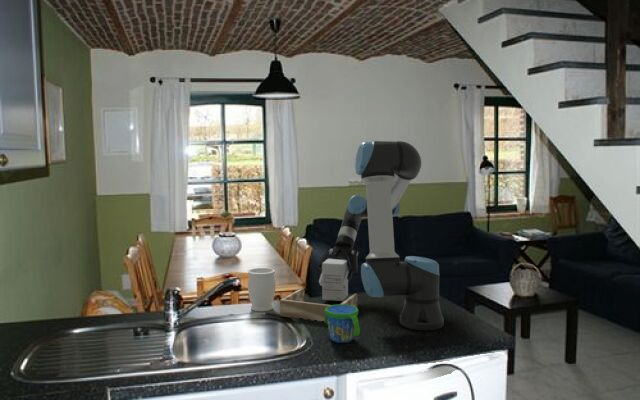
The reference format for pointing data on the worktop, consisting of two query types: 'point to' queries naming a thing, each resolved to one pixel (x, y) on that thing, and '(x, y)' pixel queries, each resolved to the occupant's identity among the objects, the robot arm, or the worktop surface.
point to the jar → (261, 288)
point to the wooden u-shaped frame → (307, 306)
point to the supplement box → (334, 279)
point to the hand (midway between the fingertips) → (332, 284)
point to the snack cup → (342, 322)
